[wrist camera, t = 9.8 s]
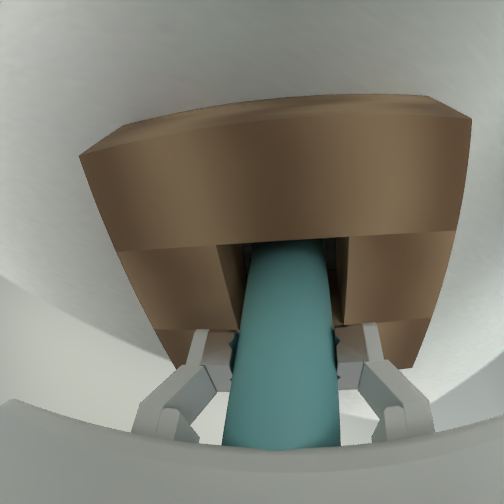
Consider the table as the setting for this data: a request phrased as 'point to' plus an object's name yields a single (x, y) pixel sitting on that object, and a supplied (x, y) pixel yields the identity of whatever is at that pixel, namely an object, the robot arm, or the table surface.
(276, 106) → the socket block
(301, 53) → the table surface
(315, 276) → the peg
